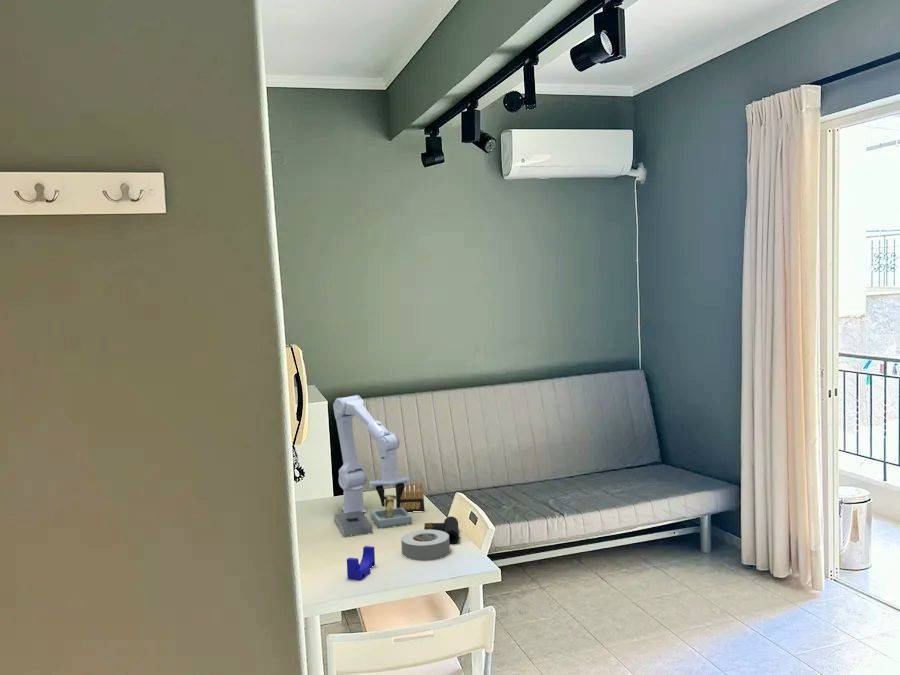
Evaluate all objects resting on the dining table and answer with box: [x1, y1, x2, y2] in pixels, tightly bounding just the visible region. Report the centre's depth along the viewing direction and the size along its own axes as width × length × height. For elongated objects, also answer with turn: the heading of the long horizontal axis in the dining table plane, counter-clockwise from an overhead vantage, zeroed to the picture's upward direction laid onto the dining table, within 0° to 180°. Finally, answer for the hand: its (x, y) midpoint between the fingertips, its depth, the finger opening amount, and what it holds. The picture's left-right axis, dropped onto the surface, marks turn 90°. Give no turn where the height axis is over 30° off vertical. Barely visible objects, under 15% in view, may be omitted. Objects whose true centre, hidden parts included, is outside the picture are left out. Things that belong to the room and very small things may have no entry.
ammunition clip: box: [395, 480, 426, 513], centre depth 287 cm, size 11×2×12 cm, turn 92°
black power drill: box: [423, 516, 460, 545], centre depth 257 cm, size 12×5×15 cm
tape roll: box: [400, 529, 451, 561], centre depth 243 cm, size 15×15×5 cm
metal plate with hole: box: [333, 511, 374, 537], centre depth 271 cm, size 20×10×2 cm, turn 18°
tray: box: [370, 508, 412, 529], centre depth 276 cm, size 12×12×3 cm
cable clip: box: [346, 545, 376, 581], centre depth 227 cm, size 12×4×6 cm, turn 159°
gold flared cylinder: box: [384, 494, 396, 519], centre depth 275 cm, size 4×4×9 cm
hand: (390, 505), depth 275 cm, fingers open, 5 cm apart
